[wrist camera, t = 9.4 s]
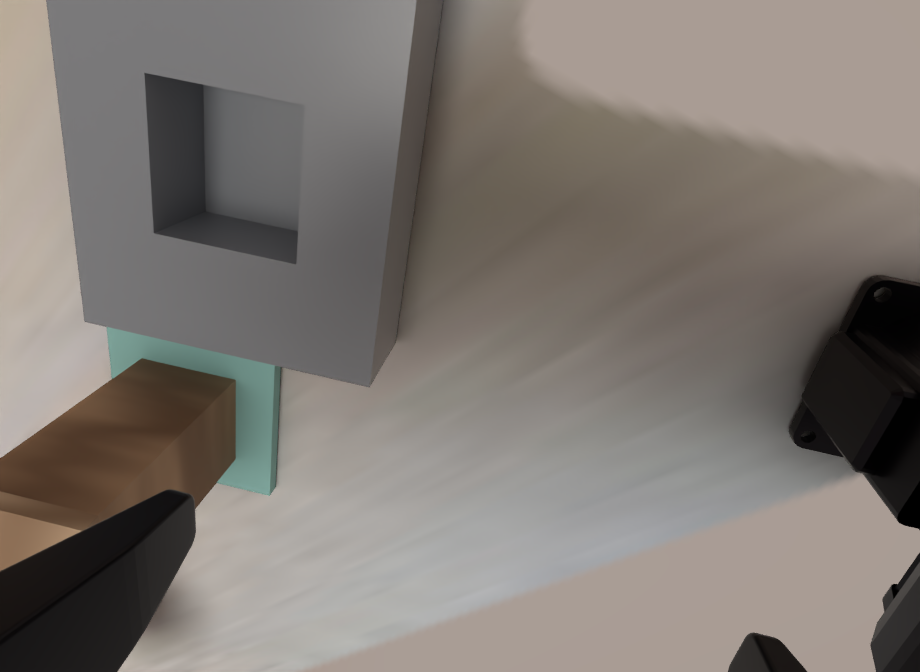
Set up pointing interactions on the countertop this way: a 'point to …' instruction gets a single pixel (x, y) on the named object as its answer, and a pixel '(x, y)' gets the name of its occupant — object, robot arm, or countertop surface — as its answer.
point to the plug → (116, 454)
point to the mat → (252, 400)
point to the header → (246, 170)
